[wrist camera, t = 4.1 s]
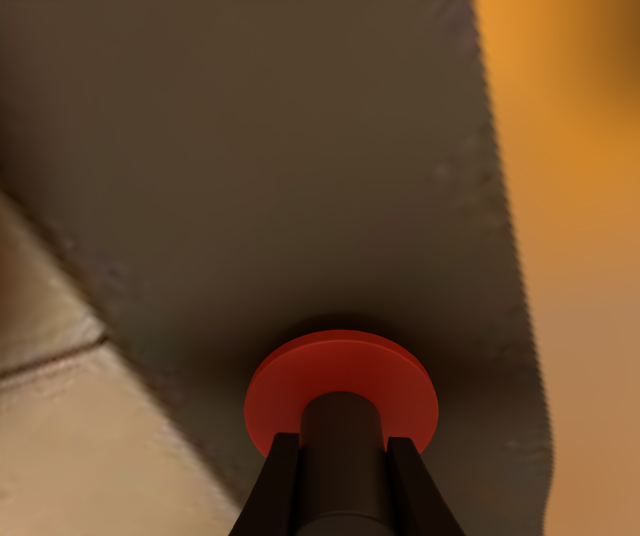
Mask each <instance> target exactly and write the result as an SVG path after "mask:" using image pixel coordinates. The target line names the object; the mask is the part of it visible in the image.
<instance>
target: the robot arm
mask: <svg viewBox="0 0 640 536" xmlns="http://www.w3.org/2000/svg"><path fill="white" fill-rule="evenodd" d="M298 457H299V433H286V432H278V433H277V434H275V435H274V439H273V442H272V445H271V448H270V451H269V453H268V456H267V459H266V461H265V463H264V466H263V468H262V470H261V473H260V475H259V477H258V479H257V482H256V484H255V486H254V488H253V490H252V492H251V494H250V496H249V498H248V500H247V502H246V504H245V506H244V508H243V510H242V512H241V514H240V515H239V517H238V519H237V521H236V523H235V525H234V526H233V528H232V530H231V532H230V534H229V535H228V536H291V528H292V517H293V505H294V495H295V488H296V480H297V468H298ZM386 457H387V464H388V470H389V476H390V482H391V489H392V495H393V501H394V508H395V514H396V520H397V527H398V533H399V536H466V535H465V533H464V532H463V530H462V528H461V527H460V525H459V524H458V522H457V521H456V519H455V517H454V516H453V514H452V512H451V511H450V509H449V507H448V506H447V504H446V502H445V501H444V499H443V497H442V496H441V494H440V492H439V490H438V489H437V487H436V485H435V483H434V481H433V480H432V478H431V476H430V474H429V472H428V470H427V468H426V467H425V465H424V463H423V461H422V459H421V457H420V455H419V453H418V451H417V449H416V446H415V444H414V442H413V440H412V439H411V438H410V437H388V443H387V450H386Z"/></svg>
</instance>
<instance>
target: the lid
mask: <svg viewBox="0 0 640 536" xmlns="http://www.w3.org/2000/svg"><path fill="white" fill-rule="evenodd" d="M438 414H439V412H438V401H437V397H436V393H435V390H434V387H433V384H432V382H431V380H430V377H429V375H428V373H427V372H426V370H425V369H424V367H423V366H422V364H421V363H420V362H419V361H418V360H417V359H416V358H415V357H414V356H413V355H412V354H411V353H409V352H408V351H407V350H406V349H404V348H403V347H401V346H400V345H398V344H396V343H395V342H392V341H390V340H388V339H386V338H384V337H381V336H378V335H375V334H372V333H367V332H362V331H355V330H327V331H319V332H315V333H311V334H307V335H304V336H301V337H298V338H296V339H293V340H291V341H289V342H287V343H285V344H283V345H282V346H280V347H279V348H278V349H276V350H275V351H273V352H272V353H271V354H270V355H269V356H268V357H267V358H265V359H264V361H263V362H262V363H261V364H260V365H259V367H258V368H257V370H256V371H255V373H254V375H253V376H252V379H251V381H250V384H249V387H248V391H247V394H246V399H245V404H244V417H245V424H246V427H247V430H248V433H249V435H250V437H251V439H252V441H253V443H254V444H255V445H256V447H257V448H258V449H259V451H260V452H261V453H262V454H263V455H264V456H265V457H266V458H267V456H268V453H269V451H270V448H271V445H272V442H273V439H274V435H275V434H277V433H278V432H286V433H299V457H298V468H297V480H296V488H295V495H294V505H293V517H292V528H291V536H399V533H398V527H397V520H396V514H395V508H394V501H393V495H392V489H391V482H390V476H389V470H388V464H387V457H386V450H387V443H388V437H410V438H411V439H412V440H413V442H414V444H415V446H416V449H417V451H418V453H419V455H420V453H421V452H422V451H423V450H424V449H425V448H426V446H427V445H428V443H429V442H430V440H431V438H432V436H433V434H434V432H435V429H436V426H437V421H438Z"/></svg>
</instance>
